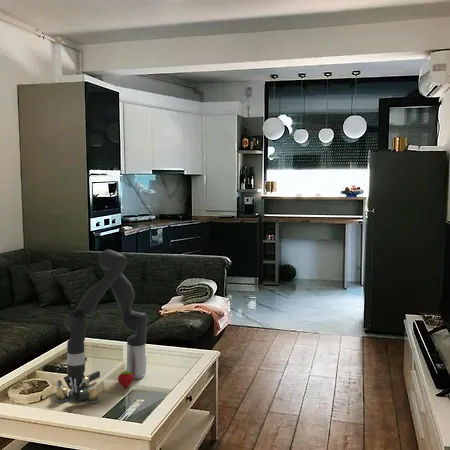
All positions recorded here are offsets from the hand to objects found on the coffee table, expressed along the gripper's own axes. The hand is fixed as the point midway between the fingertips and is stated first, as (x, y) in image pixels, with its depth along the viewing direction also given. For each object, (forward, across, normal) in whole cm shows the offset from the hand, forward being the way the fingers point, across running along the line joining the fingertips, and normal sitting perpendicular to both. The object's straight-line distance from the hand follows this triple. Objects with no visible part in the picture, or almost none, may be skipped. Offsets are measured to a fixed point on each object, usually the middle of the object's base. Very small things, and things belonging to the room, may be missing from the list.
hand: (76, 399), depth 218 cm
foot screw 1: (+2, -13, +3) cm, 14 cm away
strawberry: (+4, +6, +26) cm, 27 cm away
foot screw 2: (+3, 0, +5) cm, 5 cm away
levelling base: (+4, -4, +8) cm, 10 cm away
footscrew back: (+3, -10, +19) cm, 21 cm away
